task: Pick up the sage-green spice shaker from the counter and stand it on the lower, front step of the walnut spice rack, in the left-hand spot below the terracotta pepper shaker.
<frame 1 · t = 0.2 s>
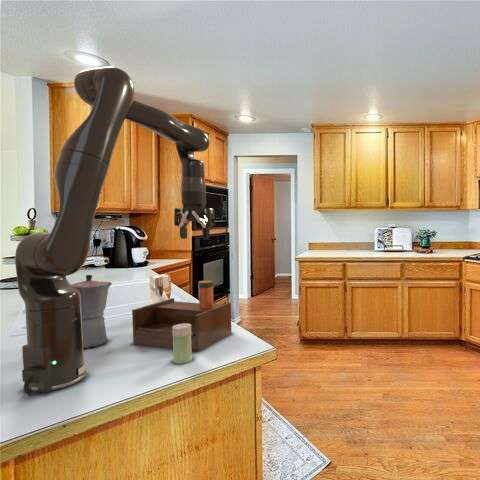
hand: (194, 239, 119), 29 cm above the counter, tool pointing down, fingers open, 8 cm apart
pepper shaker: (206, 307, 108), point 9 cm above the counter, touching spice rack
spice rack: (184, 338, 106), on the counter
shaker: (182, 360, 90), on the counter
beer glass: (161, 316, 129), on the counter
moka pot: (87, 345, 101), on the counter
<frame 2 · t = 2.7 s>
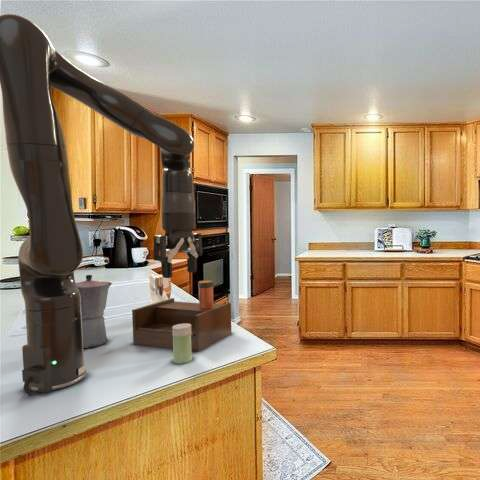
hand: (180, 274, 89), 22 cm above the counter, tool pointing down, fingers open, 8 cm apart
nothing on the counter moved.
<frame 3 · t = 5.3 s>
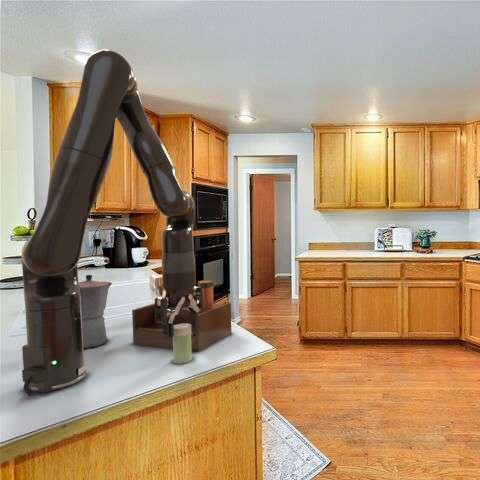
hand: (181, 331, 90), 7 cm above the counter, tool pointing down, fingers open, 8 cm apart
nothing on the counter moved.
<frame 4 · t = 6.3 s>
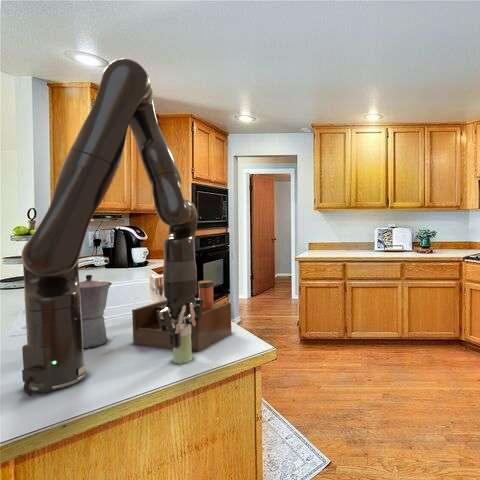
hand: (182, 343, 90), 4 cm above the counter, tool pointing down, fingers closed on shaker, 4 cm apart
shaker: (182, 360, 90), on the counter, touching gripper
everything else where it was.
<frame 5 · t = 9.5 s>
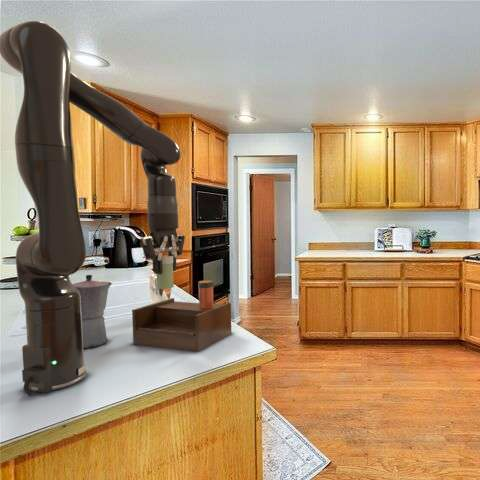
hand: (165, 272, 100), 21 cm above the counter, tool pointing down, fingers closed on shaker, 4 cm apart
shaker: (165, 287, 100), point 17 cm above the counter, touching gripper
everything else where it was.
when the fingers open (8 cm above the counter, at t = 12.9 s): shaker stays where it is, resting on spice rack.
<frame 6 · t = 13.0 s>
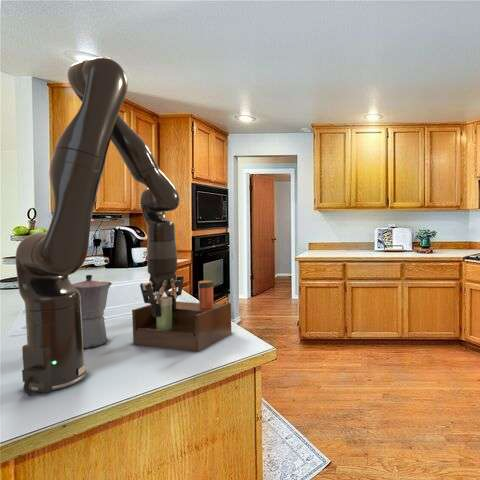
hand: (164, 313, 103), 8 cm above the counter, tool pointing down, fingers open, 5 cm apart
shaker: (164, 328, 103), point 4 cm above the counter, touching spice rack
everything else where it was.
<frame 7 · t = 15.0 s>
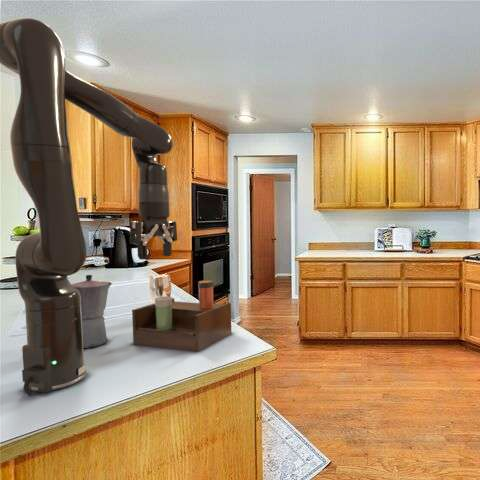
hand: (155, 257, 101), 25 cm above the counter, tool pointing down, fingers open, 8 cm apart
nothing on the counter moved.
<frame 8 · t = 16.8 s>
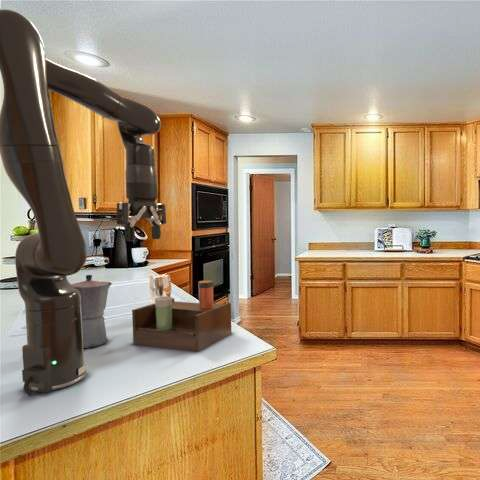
hand: (143, 240, 99), 30 cm above the counter, tool pointing down, fingers open, 8 cm apart
nothing on the counter moved.
at the end: shaker inside the target area on the spice rack (1.2 cm from its centre), point 4.0 cm above the spice rack's base; shaker tilted 0°; the gripper is holding nothing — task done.
